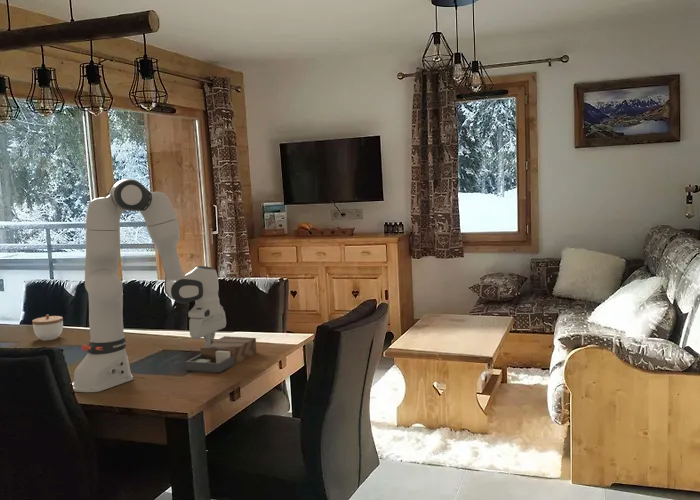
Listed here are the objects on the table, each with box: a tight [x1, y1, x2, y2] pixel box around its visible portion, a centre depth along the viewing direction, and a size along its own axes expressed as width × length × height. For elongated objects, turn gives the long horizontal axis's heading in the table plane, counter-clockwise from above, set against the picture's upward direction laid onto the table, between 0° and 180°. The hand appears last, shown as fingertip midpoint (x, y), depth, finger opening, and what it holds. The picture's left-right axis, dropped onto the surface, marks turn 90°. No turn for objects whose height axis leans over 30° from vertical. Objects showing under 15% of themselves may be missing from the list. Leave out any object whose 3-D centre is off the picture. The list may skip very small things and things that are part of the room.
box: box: [185, 353, 235, 374], centre depth 232 cm, size 10×14×4 cm
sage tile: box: [195, 359, 211, 363], centre depth 232 cm, size 5×5×2 cm
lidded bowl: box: [31, 314, 64, 341], centre depth 286 cm, size 13×13×11 cm
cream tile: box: [216, 350, 230, 363], centre depth 233 cm, size 5×5×2 cm
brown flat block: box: [199, 335, 258, 366], centre depth 245 cm, size 18×14×6 cm
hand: (209, 344), depth 238 cm, fingers closed
